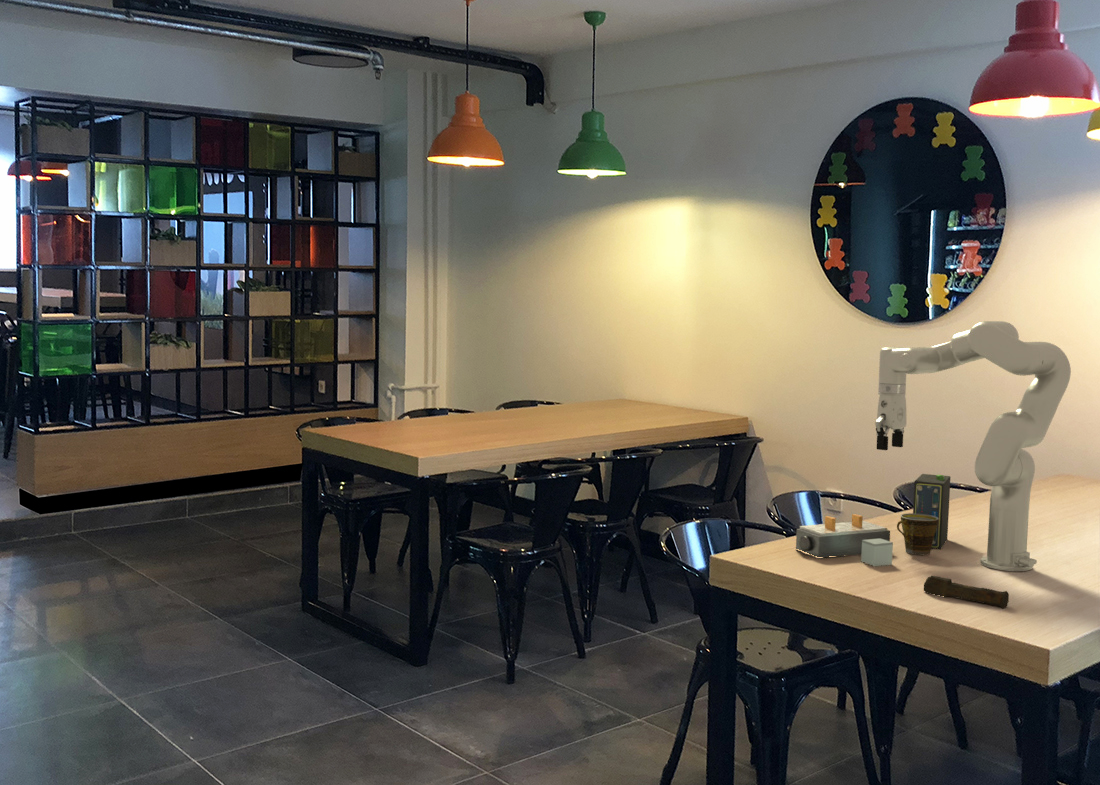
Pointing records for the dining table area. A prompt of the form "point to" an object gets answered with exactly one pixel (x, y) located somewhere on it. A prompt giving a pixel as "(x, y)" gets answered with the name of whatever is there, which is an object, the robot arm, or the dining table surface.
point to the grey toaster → (838, 537)
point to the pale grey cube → (877, 552)
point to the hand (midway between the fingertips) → (889, 448)
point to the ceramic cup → (918, 532)
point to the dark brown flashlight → (965, 591)
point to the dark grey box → (933, 503)
